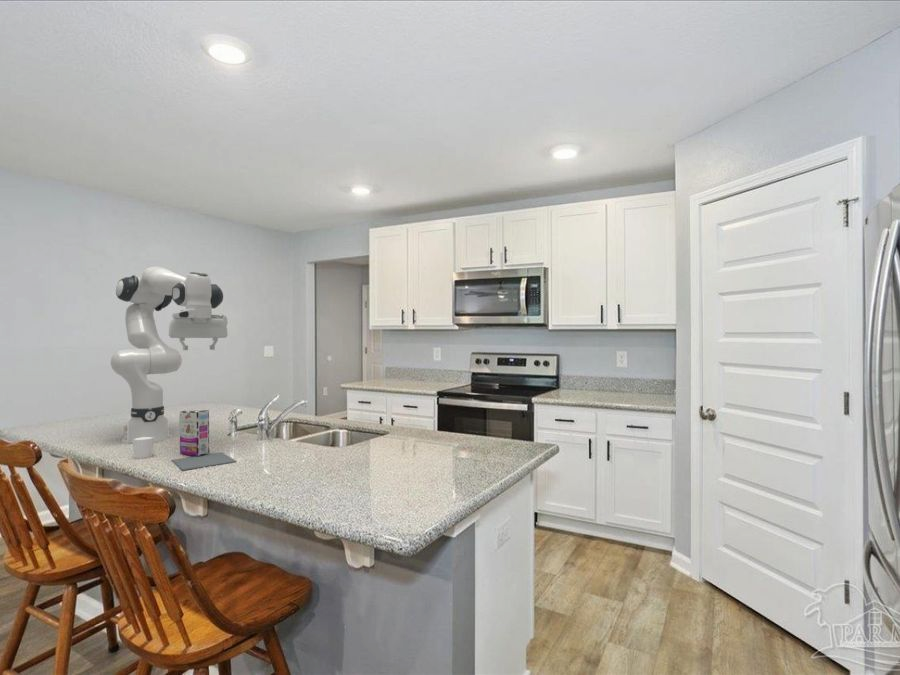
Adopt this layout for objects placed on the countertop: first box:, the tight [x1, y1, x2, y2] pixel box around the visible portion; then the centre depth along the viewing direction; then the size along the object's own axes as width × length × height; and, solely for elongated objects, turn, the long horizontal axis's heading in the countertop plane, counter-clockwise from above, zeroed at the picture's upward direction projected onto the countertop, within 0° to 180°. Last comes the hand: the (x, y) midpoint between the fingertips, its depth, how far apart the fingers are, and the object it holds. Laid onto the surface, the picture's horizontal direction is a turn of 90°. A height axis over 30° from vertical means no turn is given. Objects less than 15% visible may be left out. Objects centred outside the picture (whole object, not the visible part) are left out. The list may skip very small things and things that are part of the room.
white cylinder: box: [132, 437, 155, 459], centre depth 180 cm, size 7×7×7 cm
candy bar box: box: [179, 409, 210, 457], centre depth 183 cm, size 11×5×16 cm, turn 61°
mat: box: [171, 452, 237, 472], centre depth 173 cm, size 17×17×1 cm
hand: (199, 349), depth 189 cm, fingers open, 8 cm apart
